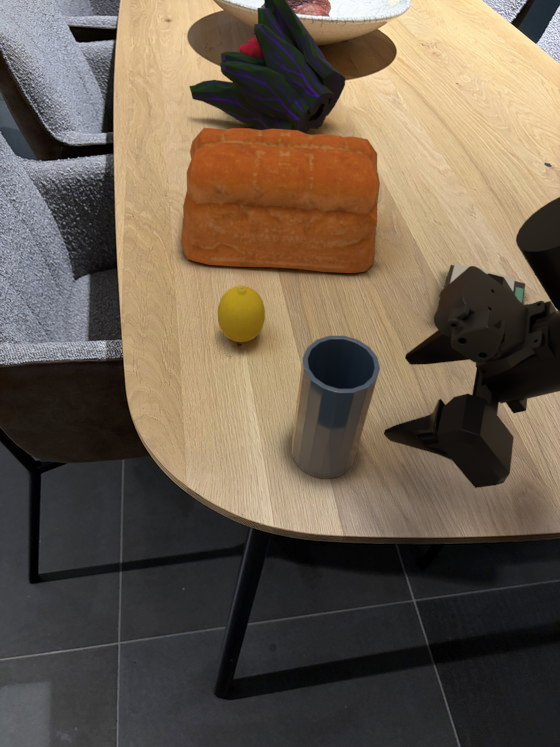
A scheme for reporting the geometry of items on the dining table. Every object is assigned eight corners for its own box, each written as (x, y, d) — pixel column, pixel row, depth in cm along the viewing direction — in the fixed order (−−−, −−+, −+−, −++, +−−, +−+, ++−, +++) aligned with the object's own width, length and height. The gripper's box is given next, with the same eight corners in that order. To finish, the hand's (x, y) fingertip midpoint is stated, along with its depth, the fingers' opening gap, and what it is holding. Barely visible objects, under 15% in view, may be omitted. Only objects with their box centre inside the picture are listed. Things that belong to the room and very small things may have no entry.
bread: (375, 279, 82) (398, 180, 71) (178, 266, 81) (170, 165, 70) (368, 218, 91) (387, 122, 80) (191, 207, 90) (185, 108, 79)
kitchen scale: (520, 294, 82) (527, 278, 80) (514, 344, 75) (522, 328, 73) (447, 275, 83) (452, 259, 81) (435, 322, 77) (441, 306, 75)
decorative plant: (270, 199, 109) (165, 97, 115) (373, 110, 112) (266, 16, 118) (259, 127, 89) (133, 9, 95) (385, 22, 92) (255, -86, 98)
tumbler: (361, 436, 65) (386, 347, 54) (345, 487, 61) (369, 402, 50) (302, 417, 66) (315, 327, 55) (282, 466, 62) (293, 379, 51)
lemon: (269, 350, 72) (272, 301, 66) (224, 359, 71) (223, 309, 65) (256, 319, 76) (258, 269, 70) (213, 326, 74) (211, 276, 68)
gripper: (537, 190, 46) (370, 266, 56) (519, 359, 34) (312, 417, 44) (596, 295, 50) (432, 347, 61) (598, 476, 39) (394, 504, 49)
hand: (397, 395), depth 53 cm, fingers open, 9 cm apart
